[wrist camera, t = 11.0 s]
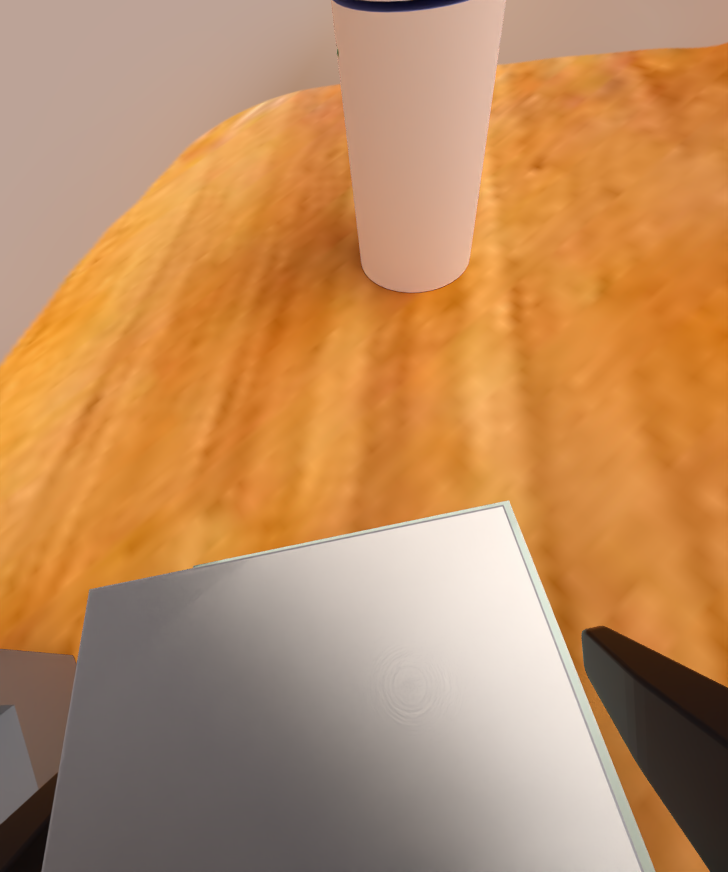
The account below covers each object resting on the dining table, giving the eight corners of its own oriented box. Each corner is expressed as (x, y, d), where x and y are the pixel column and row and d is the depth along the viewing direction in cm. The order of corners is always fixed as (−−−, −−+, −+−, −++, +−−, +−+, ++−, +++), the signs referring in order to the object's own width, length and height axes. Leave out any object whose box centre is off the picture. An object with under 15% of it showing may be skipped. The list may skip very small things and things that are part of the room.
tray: (669, 993, 11) (733, 1069, 9) (216, 1094, 11) (167, 1198, 8) (496, 522, 18) (508, 500, 15) (219, 580, 17) (193, 565, 15)
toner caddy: (496, 849, 12) (995, 1791, 2) (327, 885, 12) (-162, 2068, 2) (440, 626, 15) (503, 505, 5) (306, 654, 15) (88, 589, 5)
